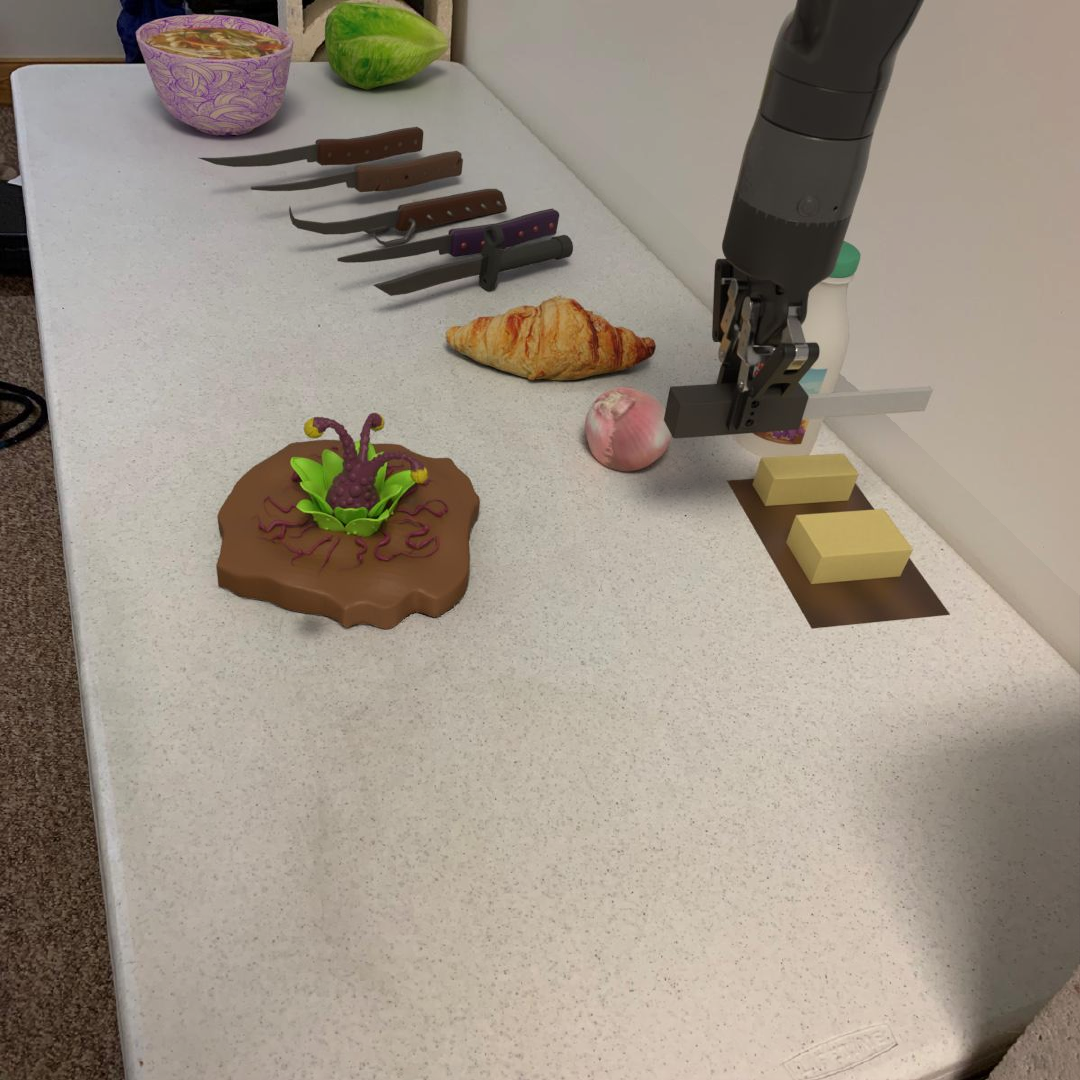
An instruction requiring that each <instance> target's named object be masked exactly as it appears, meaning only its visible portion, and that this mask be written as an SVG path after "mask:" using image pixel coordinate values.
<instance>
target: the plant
mask: <svg viewBox="0 0 1080 1080" xmlns="http://www.w3.org/2000/svg"><path fill="white" fill-rule="evenodd" d="M385 423H386V422H385V419H384V417H383V416H382V414H380V413H377V412H372V413H369V414H368V416H367V418H366V419H365V420H364V423H363V425H362V428H361V432H360V433H359V437H360V439H358V440H356V441H354V439H353V437H352V436H351V434H349V433H348V429H346V428H345V426H344V425H343V424H342V423H340V422H339V421H336V420H335V419H334V418H333V419H331V418H328V417H324V416H314V417H311V418H310V419H308V420H307V421H305V423H304V425H303V432H304V434H305V435H306V436H307V437H308V438H310V439H315V440H308V441H307V440H305V441H295V442H291V443H288V444H287V445H286V446H284V447H283V448H281V449H280V450H278V451H277V452H275V453H274V454H272V455H270V456H269V457H266V459H263V460H262V461H261V462H260V461H259V463H257V464H255V465H254V466H252V467H251V468H250V469H249V470H247V472H245V473H244V474H243V475H242V476H241V477H240V478H239V479H238V480H237V481H236V483H235V484H234V486H233V488H232V489H231V492H229V494H228V496H227V497H226V499H225V500H224V502H223V504H222V505H221V507H220V509H219V510H218V513H217V514H216V518H217V524H218V531H219V536H220V539H221V541H222V542H221V546H220V552H219V556H218V559H217V560H216V564H215V566H216V577H217V586H218V587H220V588H222V589H225V590H228V591H229V592H231V593H233V594H235V595H236V596H237V597H241V598H244V599H251V600H258V601H264V602H269V603H271V604H273V605H276V606H277V607H279V608H281V609H284V610H287V611H291V612H296V613H302V614H307V615H314V616H315V615H316V616H325V617H326V618H327V617H328V618H330V619H332V620H334V621H336V622H337V623H339V624H340V625H341V627H343V628H344V629H347V628H350V627H352V626H356V625H360V624H363V625H366V624H367V625H370V626H374V627H377V628H380V629H384V630H388V629H392V628H394V627H396V626H397V625H398V624H400V623H401V622H402V621H403V620H404V619H405V618H406V617H408V616H409V615H411V614H413V613H414V614H415V613H421V614H424V615H426V616H429V617H432V618H438V617H439V616H441V615H443V614H444V613H446V612H448V611H449V610H451V609H452V608H454V607H455V606H456V605H457V604H458V603H459V602H460V601H461V600H462V599H463V597H464V596H465V595H466V592H467V589H468V586H469V579H470V569H471V552H470V538H471V533H472V529H473V526H474V525H475V523H477V521H478V520H479V516H480V507H481V499H480V496H479V495H478V494H477V492H476V491H475V488H474V485H473V482H472V481H471V479H470V477H469V476H468V474H466V473H465V472H464V471H462V470H461V469H460V468H459V467H458V466H457V465H456V464H455V462H454V460H453V459H452V458H450V457H431V456H430V457H429V456H427V455H426V456H425V455H423V454H420V453H418V452H415V451H412V450H410V449H408V448H407V447H406V446H404V445H401V444H398V443H397V444H396V443H372V442H371V437H370V436H371V430H372V431H374V432H379V431H381V430H383V429H384V427H385ZM328 428H330V429H333V430H334V432H335V434H336V435H338V439H319V438H321V437H322V436H323V435H324V434H325V432H326V430H327V429H328Z"/></svg>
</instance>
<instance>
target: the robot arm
mask: <svg viewBox="0 0 1080 1080" xmlns="http://www.w3.org/2000/svg"><path fill="white" fill-rule="evenodd" d="M924 2H925V0H796V3H795V7H794V9H792V10H791V11H790V12H789V13H788V14H787V15H786V17H785V18H784V20H783V21H782V23H781V26H780V28H779V30H778V32H777V34H776V38H775V40H774V44H773V49H772V52H771V55H770V58H769V63H768V67H767V72H766V74H765V75H766V76H765V79H764V83H763V88H762V91H761V96H760V101H759V105H758V109H757V112H756V117H755V119H754V122H753V124H752V127H751V130H750V132H749V134H748V137H747V140H746V143H745V146H744V150H743V154H742V157H741V161H740V167H739V171H738V175H737V180H736V183H735V187H734V191H733V195H732V200H731V203H730V209H729V213H728V217H727V222H726V225H725V230H724V234H723V238H722V243H721V251H722V253H723V257H724V258H717V259H716V261H715V264H714V277H713V279H714V280H713V301H712V306H713V307H712V326H711V339H712V341H713V343H720V345H719V348H718V351H717V353H718V354H717V355H718V360H719V362H720V368H719V371H718V375H717V379H716V383H715V384H720V383H721V384H722V383H737V386H736V388H735V392H734V395H733V399H732V403H731V407H730V410H729V414H728V418H727V421H726V427H727V429H728V430H729V432H730V433H731V434H732V435H733V434H744V433H752V432H754V431H755V430H756V429H757V426H758V423H759V419H760V416H761V413H762V410H763V406H764V403H765V400H766V398H786V397H787V396H788V395H789V393H790V392H791V391H792V390H793V388H794V387H795V386H796V385H797V384H798V382H799V381H800V380H801V379H802V378H803V376H804V375H805V374H806V373H807V372H808V370H809V369H810V368H811V367H812V366H813V364H814V363H815V362H816V361H817V359H818V358H819V354H820V349H819V345H818V344H817V343H816V342H809V343H806V341H805V338H804V334H803V330H802V327H801V325H802V324H803V323H804V321H805V319H806V316H807V305H808V297H809V292H810V290H811V289H812V288H813V287H814V286H815V285H817V284H818V283H820V282H821V281H823V280H825V279H826V278H828V277H829V276H830V275H831V274H832V272H833V271H834V269H835V266H836V263H837V260H838V257H839V254H840V251H841V247H842V244H843V241H845V237H846V236H847V235H846V234H847V231H848V229H849V225H850V222H851V219H852V216H853V213H854V209H855V206H856V204H857V201H858V197H859V194H860V191H861V188H862V184H863V182H864V179H865V175H866V171H867V168H868V163H869V158H870V152H871V146H872V140H873V137H874V133H875V130H876V128H877V124H878V121H879V118H880V114H881V112H882V109H883V105H884V102H885V99H886V96H887V92H888V90H889V86H890V84H891V80H892V77H893V72H894V69H895V65H896V60H897V57H898V54H899V50H900V49H901V46H902V45H903V42H904V40H905V39H906V37H907V35H908V34H909V32H910V31H911V29H912V26H913V25H914V23H915V21H916V19H917V17H918V14H919V13H920V10H921V8H922V6H923V5H924ZM759 346H761V347H759ZM761 363H765V364H764V365H763V366H762V368H761V369H760V371H759V372H758V373H757V375H753V372H754V368H755V366H756V365H757V364H761Z"/></svg>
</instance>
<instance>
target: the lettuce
mask: <svg viewBox="0 0 1080 1080" xmlns="http://www.w3.org/2000/svg"><path fill="white" fill-rule="evenodd" d="M449 41H450V40H449V38H448V37H447V35H446V34H445V32H443V31H442V30H441V29H440V28H439V27H437V26H436V25H435V24H434V23H432V22H431V21H429V20H427V18H425V17H423V16H420V15H418V14H417V13H414V12H412V11H410V10H407V9H404V8H401V7H397V6H394V5H389V4H388V5H387V4H381V3H376V2H370V1H365V2H364V1H363V2H349V1H340V2H338V4H337V5H335V7H334V8H333V9H332V10H331V11H330V12H329V13H328V14H327V16H326V19H325V24H324V45H325V51H326V57H327V60H328V63H329V66H330V68H331V70H332V72H333V73H335V74H336V75H337V76H338V77H339V78H340V79H341V80H343V81H344V82H345V83H346V84H349V85H352V86H354V87H357V88H360V89H362V90H365V91H368V90H372V89H375V88H379V87H382V86H387V85H392V84H395V83H396V84H397V83H399V82H404V81H406V80H408V79H410V78H413V77H414V76H416V75H418V74H420V73H421V72H422V71H423V70H425V69H426V68H427V67H428V66H430V65H431V64H432V63H433V62H435V61H437V60H438V59H439V58H440V57H442V56H443V55H444V54H446V52H447V51H448V50H449V48H450V42H449Z"/></svg>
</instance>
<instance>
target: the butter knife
mask: <svg viewBox="0 0 1080 1080" xmlns="http://www.w3.org/2000/svg"><path fill="white" fill-rule="evenodd" d="M736 386H737V383H722V384H721V383H720V384H716V383H707V384H705V383H704V384H690V385H689V384H688V385H674V386H673V385H671V386H669V390H668V396H667V401H666V406H665V408H666V411H665V416H664V422H665V423H666V425H667V427H668V429H669V431H670V433H671V435H672V437H671V438H672V439H673V440H675V439H690V438H703V437H716V436H717V437H718V436H731V435H733V434H731V433H730V432H729V430H728V429H727V427H726V421H727V418H728V414H729V410H730V407H731V403H732V399H733V395H734V392H735V388H736ZM933 391H934V389H933V388H932V387H931V386H916V387H915V386H914V387H902V388H901V387H899V388H885V389H884V388H883V389H868V390H853V391H841V392H840V391H839V392H833V393H821V394H807V393H806V392H805V390H804V389H803V388H802V386H801V385H800V384H799V382H798V384H797V385H796V386H795V387H794V388H793V390H792V391H791V392H790V393H789V395H788V396H787V397H786V398H766V400H765V403H764V406H763V410H762V413H761V416H760V419H759V423H758V426H757V429H756V430H755V431H754V432H752V433H760V432H774V431H787V430H799V428H800V425H801V421H802V420H804V419H818V418H824V419H831V418H844V417H858V416H859V417H860V416H872V415H873V416H874V415H888V414H901V413H902V414H903V413H916V412H917V413H918V412H925V411H926V409H927V406H928V403H929V401H930V399H931V397H932V393H933ZM744 434H746V433H744Z"/></svg>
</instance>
